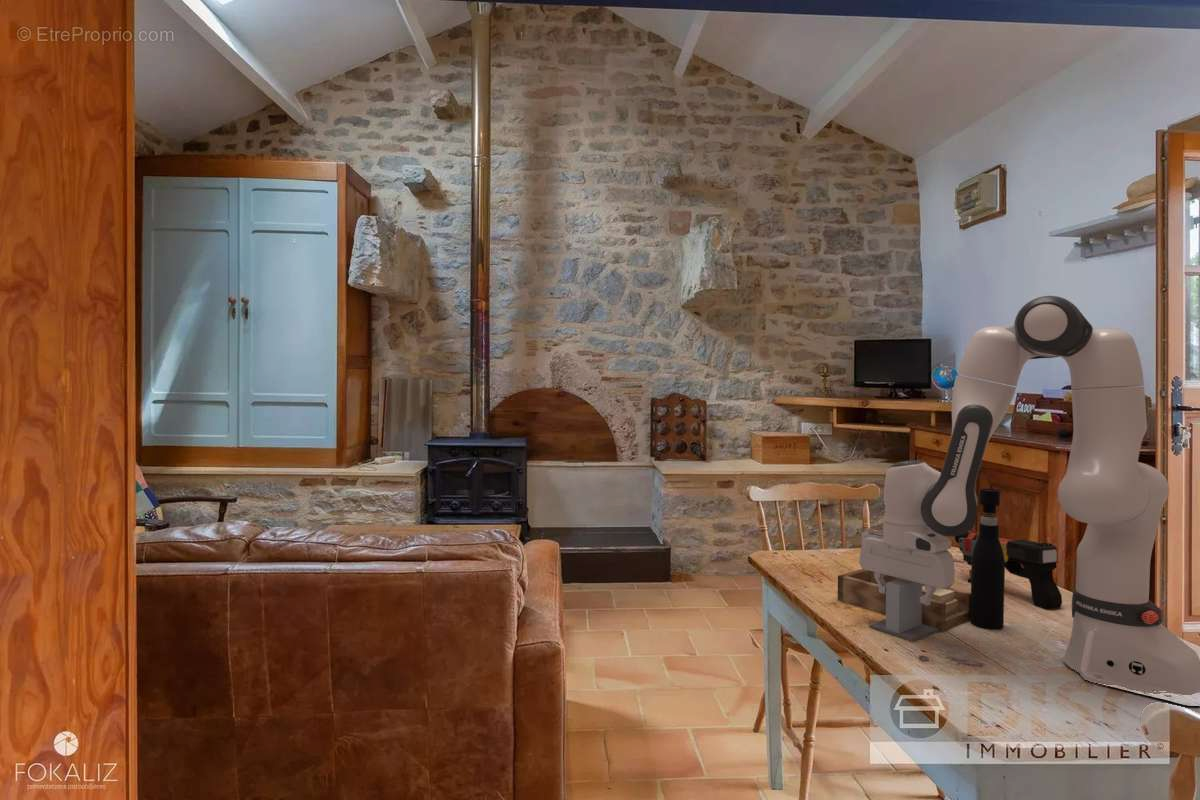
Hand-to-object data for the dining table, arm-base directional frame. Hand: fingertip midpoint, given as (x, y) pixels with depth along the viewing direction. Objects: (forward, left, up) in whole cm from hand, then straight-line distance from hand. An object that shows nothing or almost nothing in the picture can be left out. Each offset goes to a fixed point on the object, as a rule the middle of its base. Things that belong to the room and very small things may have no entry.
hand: (904, 598), depth 151 cm
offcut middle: (0, -12, -5) cm, 13 cm away
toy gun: (0, -45, -7) cm, 46 cm away
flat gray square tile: (0, 0, -7) cm, 7 cm away
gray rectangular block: (0, 0, -6) cm, 6 cm away
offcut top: (0, -12, -2) cm, 12 cm away
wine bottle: (-9, -18, -7) cm, 21 cm away
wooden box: (+8, -12, -7) cm, 16 cm away
